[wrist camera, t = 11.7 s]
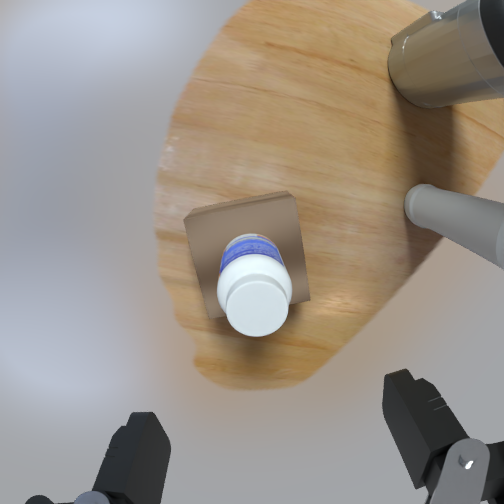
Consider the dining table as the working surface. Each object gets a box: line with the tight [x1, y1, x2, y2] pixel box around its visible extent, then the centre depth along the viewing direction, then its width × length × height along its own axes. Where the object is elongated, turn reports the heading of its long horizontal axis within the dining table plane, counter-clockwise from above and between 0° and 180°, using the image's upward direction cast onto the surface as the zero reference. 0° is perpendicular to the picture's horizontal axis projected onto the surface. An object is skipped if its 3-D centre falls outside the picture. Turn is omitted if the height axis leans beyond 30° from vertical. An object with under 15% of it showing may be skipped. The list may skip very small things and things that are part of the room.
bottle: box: [404, 184, 504, 269], centre depth 22 cm, size 5×5×25 cm
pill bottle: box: [217, 234, 292, 337], centre depth 24 cm, size 5×5×10 cm
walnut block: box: [184, 191, 310, 319], centre depth 32 cm, size 10×10×6 cm
